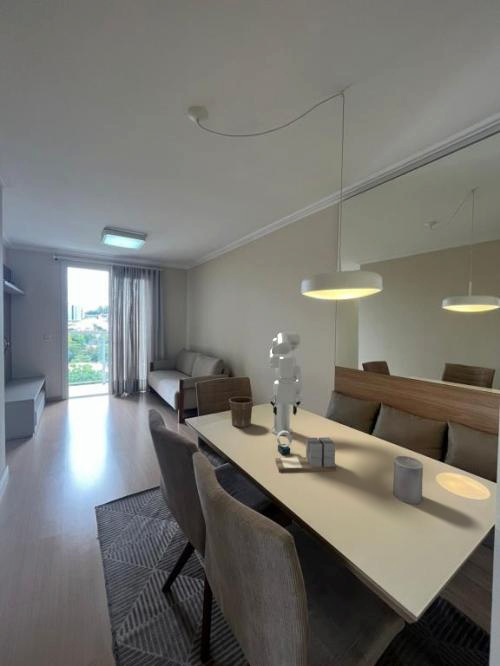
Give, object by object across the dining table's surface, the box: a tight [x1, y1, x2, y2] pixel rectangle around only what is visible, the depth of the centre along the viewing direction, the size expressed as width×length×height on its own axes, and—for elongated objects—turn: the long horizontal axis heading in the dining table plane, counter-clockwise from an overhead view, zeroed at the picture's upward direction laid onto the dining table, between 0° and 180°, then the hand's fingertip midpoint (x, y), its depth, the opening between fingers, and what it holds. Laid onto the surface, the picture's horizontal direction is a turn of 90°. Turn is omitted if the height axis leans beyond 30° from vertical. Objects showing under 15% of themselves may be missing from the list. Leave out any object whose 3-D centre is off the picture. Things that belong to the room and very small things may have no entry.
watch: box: [276, 430, 293, 456], centre depth 144 cm, size 6×8×11 cm
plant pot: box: [228, 396, 255, 428], centre depth 184 cm, size 16×16×16 cm
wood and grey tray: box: [274, 437, 337, 473], centre depth 131 cm, size 10×26×12 cm, turn 94°
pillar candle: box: [392, 455, 424, 505], centre depth 109 cm, size 10×10×15 cm
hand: (284, 414), depth 144 cm, fingers open, 9 cm apart
